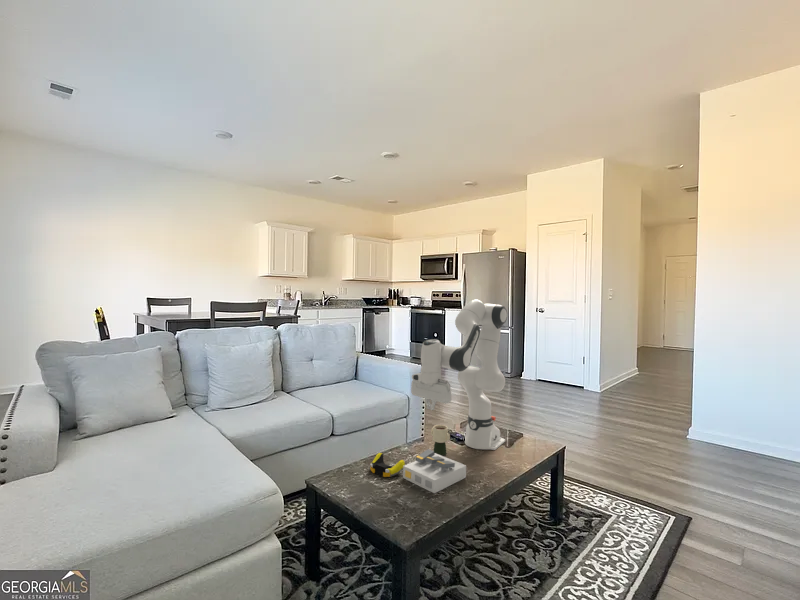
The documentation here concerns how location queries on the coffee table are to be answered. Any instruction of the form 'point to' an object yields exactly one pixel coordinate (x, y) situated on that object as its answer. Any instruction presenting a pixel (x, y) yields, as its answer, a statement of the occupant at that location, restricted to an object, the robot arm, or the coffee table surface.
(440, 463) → the block
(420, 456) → the block
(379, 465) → the gaming controller
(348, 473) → the coffee table surface
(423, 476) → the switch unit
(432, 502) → the coffee table surface
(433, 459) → the block
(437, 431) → the character mug
